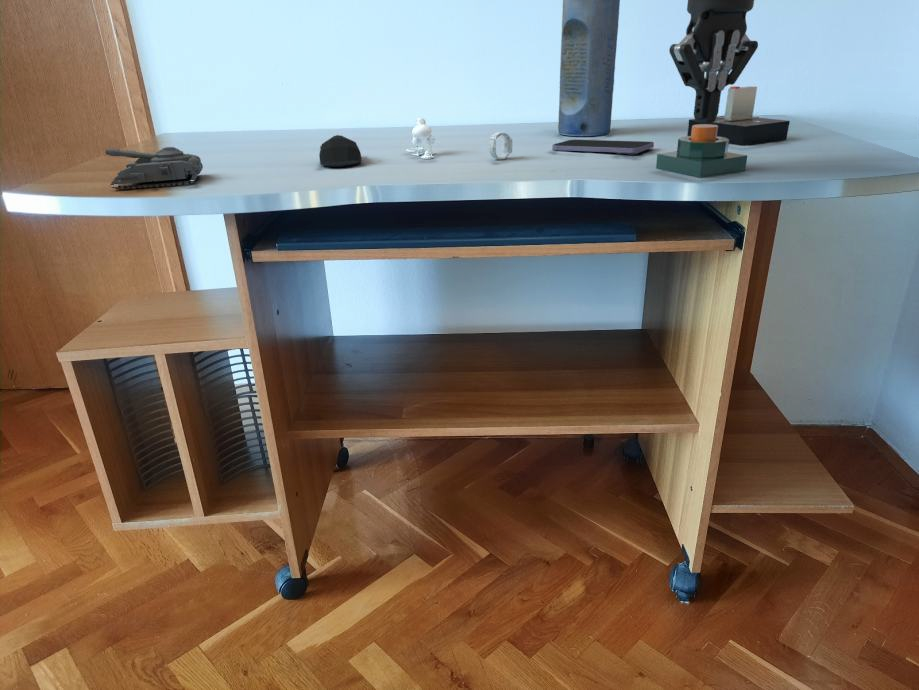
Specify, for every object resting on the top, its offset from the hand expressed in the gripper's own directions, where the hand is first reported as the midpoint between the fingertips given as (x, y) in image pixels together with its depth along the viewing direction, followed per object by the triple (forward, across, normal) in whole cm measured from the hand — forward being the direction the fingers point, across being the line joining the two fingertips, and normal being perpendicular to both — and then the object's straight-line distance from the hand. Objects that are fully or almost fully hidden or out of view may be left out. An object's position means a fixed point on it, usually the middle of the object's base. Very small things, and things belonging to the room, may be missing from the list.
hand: (704, 121), depth 83 cm
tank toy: (+7, -65, +38) cm, 76 cm away
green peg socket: (+6, 0, 0) cm, 6 cm away
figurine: (+6, -25, +36) cm, 44 cm away
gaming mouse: (+6, -38, +39) cm, 55 cm away
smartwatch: (+6, -17, +24) cm, 30 cm away
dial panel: (+6, +24, +16) cm, 29 cm away
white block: (+3, +24, +16) cm, 29 cm away
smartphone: (+6, 0, +21) cm, 22 cm away
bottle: (+6, +9, +38) cm, 39 cm away
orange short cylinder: (+3, 0, 0) cm, 3 cm away
